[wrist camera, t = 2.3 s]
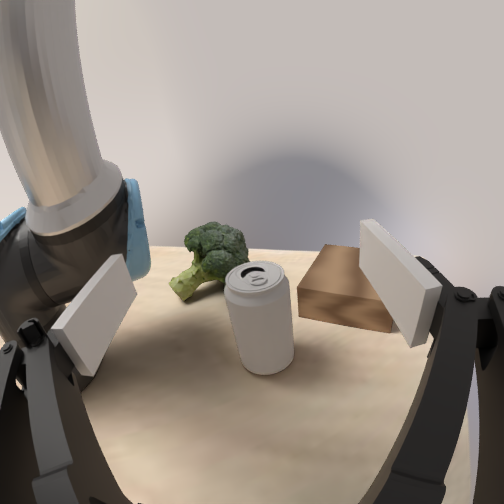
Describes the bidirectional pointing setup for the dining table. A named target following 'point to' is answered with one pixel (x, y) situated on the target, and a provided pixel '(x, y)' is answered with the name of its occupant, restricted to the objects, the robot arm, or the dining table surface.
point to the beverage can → (261, 316)
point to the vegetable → (210, 257)
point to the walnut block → (341, 292)
